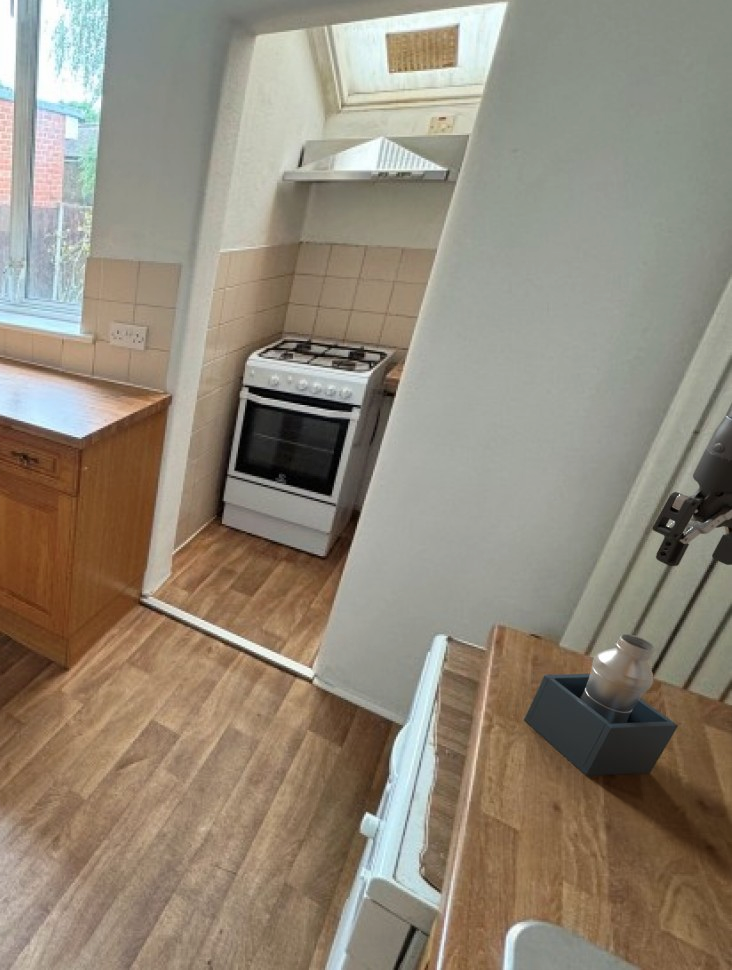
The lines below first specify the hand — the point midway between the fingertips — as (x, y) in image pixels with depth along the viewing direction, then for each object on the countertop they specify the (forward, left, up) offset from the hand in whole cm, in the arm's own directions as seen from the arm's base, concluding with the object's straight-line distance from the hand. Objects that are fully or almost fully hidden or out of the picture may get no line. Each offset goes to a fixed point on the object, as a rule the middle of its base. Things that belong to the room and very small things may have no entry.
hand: (694, 562), depth 83 cm
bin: (+1, +1, -35) cm, 35 cm away
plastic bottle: (+1, +1, -35) cm, 35 cm away
